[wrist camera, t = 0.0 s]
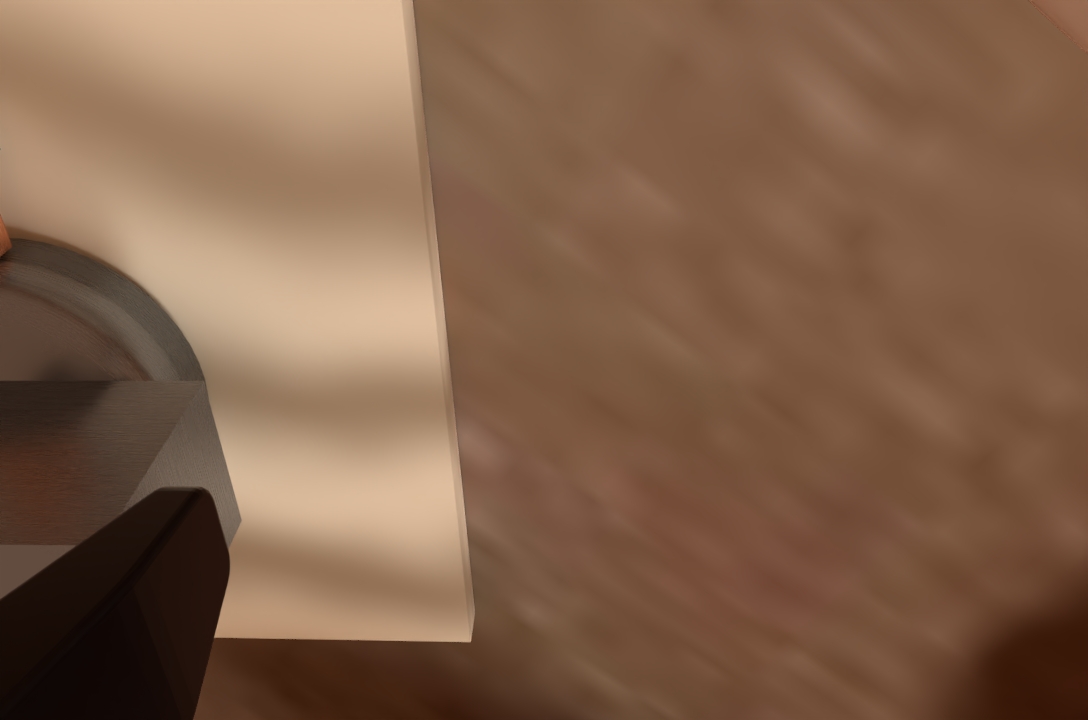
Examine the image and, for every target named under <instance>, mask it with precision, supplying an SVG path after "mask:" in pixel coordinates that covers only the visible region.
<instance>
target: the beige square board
mask: <svg viewBox="0 0 1088 720" xmlns="http://www.w3.org/2000/svg"><path fill="white" fill-rule="evenodd" d="M0 214H1V217H2V220H3V222H4V225H5V228H6V231H7V233H8V236H9V238H21V239H27V240H33V241H39V242H44V243H48V244H52V245H55V246H59V247H62V248H66V249H69V250H71V251H74V252H76V253H79V254H81V255H84V256H86V257H89V258H91V259H93V260H95V261H97V262H99V263H101V264H103V265H105V266H107V267H109V268H110V269H112V270H114V271H115V272H117V273H118V274H120V275H121V276H123V277H125V278H126V279H128V280H129V281H131V282H132V283H133V284H135V285H136V286H137V287H138V288H140V289H141V290H142V291H143V292H145V293H146V294H147V295H149V296H150V297H151V298H152V299H153V300H154V301H155V302H156V303H157V304H158V305H159V306H160V307H161V308H162V309H163V310H164V311H165V312H166V313H167V314H168V315H169V317H170V318H171V319H172V320H173V321H174V323H175V324H176V325H177V326H178V327H179V329H180V330H181V332H182V333H183V335H184V336H185V338H186V339H187V341H188V342H189V344H190V345H191V347H192V349H193V351H194V353H195V355H196V357H197V359H198V361H199V363H200V366H201V369H202V372H203V375H204V378H205V381H206V386H207V391H208V396H209V402H210V406H211V409H212V413H213V417H214V420H215V424H216V428H217V431H218V435H219V439H220V442H221V446H222V450H223V453H224V457H225V461H226V464H227V468H228V472H229V475H230V479H231V482H232V486H233V490H234V493H235V497H236V501H237V504H238V508H239V512H240V515H241V519H242V521H241V523H240V526H239V528H238V530H237V532H236V534H235V536H234V538H233V541H232V543H231V545H230V547H229V549H228V550H229V555H230V575H229V580H228V585H227V589H226V593H225V597H224V600H223V604H222V608H221V612H220V616H219V620H218V624H217V628H216V632H215V636H214V638H267V639H324V640H381V641H438V642H471V637H472V630H473V623H474V616H475V607H474V597H473V587H472V578H471V568H470V558H469V548H468V538H467V529H466V519H465V509H464V499H463V489H462V480H461V470H460V460H459V450H458V440H457V431H456V421H455V411H454V401H453V392H452V382H451V372H450V362H449V352H448V343H447V333H446V323H445V313H444V303H443V294H442V284H441V274H440V264H439V254H438V245H437V235H436V225H435V215H434V205H433V196H432V186H431V176H430V166H429V157H428V147H427V137H426V127H425V117H424V108H423V98H422V88H421V78H420V68H419V59H418V49H417V39H416V29H415V19H414V10H413V0H0Z"/></svg>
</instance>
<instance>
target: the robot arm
mask: <svg viewBox="0 0 1088 720" xmlns="http://www.w3.org/2000/svg"><path fill="white" fill-rule="evenodd" d="M229 575H230V555H229V550H228V547H227V543H226V540H225V536H224V533H223V529H222V526H221V522H220V519H219V515H218V512H217V508H216V505H215V501H214V499H213V497H212V495H211V493H210V492H209V491H208V490H207V489H206V488H203V487H200V486H165V487H161V488H158V489H156V490H155V491H153V492H151V493H150V494H149V495H147V496H146V497H144V498H143V499H142V500H140V501H139V502H137V503H136V504H134V505H133V506H132V507H130V508H129V509H127V510H126V511H124V512H123V513H122V514H120V515H119V516H117V517H116V518H115V519H113V520H112V521H110V522H109V523H107V524H106V525H105V526H103V527H102V528H100V529H99V530H97V531H96V532H95V533H93V534H92V535H90V536H89V537H88V538H86V539H85V540H83V541H82V542H80V543H79V544H78V545H76V546H75V547H73V548H72V549H71V550H69V551H68V552H66V553H65V554H63V555H62V556H61V557H59V558H58V559H56V560H55V561H53V562H52V563H51V564H49V565H48V566H46V567H45V568H44V569H42V570H41V571H39V572H38V573H36V574H35V575H34V576H32V577H31V578H29V579H28V580H26V581H25V582H24V583H22V584H21V585H19V586H18V587H17V588H15V589H14V590H12V591H11V592H9V593H8V594H7V595H5V596H4V597H2V598H1V599H0V720H193V718H194V714H195V711H196V707H197V703H198V699H199V695H200V691H201V687H202V683H203V679H204V675H205V672H206V668H207V664H208V660H209V656H210V652H211V648H212V644H213V640H214V636H215V632H216V628H217V624H218V620H219V616H220V612H221V608H222V604H223V600H224V597H225V593H226V589H227V585H228V580H229Z"/></svg>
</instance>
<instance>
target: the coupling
mask: <svg viewBox="0 0 1088 720" xmlns="http://www.w3.org/2000/svg"><path fill="white" fill-rule="evenodd" d="M165 486H200V487H203V488H206V489H207V490H208V491H209V492H210V493H211V495H212V497H213V499H214V501H215V505H216V508H217V512H218V515H219V519H220V522H221V526H222V529H223V533H224V536H225V540H226V543H227V547H228V549H229V547H230V545H231V543H232V541H233V538H234V536H235V534H236V532H237V530H238V528H239V526H240V523H241V521H242V519H241V515H240V512H239V508H238V504H237V501H236V497H235V493H234V490H233V486H232V482H231V479H230V475H229V472H228V468H227V464H226V461H225V457H224V453H223V450H222V446H221V442H220V439H219V435H218V431H217V428H216V424H215V420H214V417H213V413H212V409H211V406H210V402H209V396H208V391H207V386H206V381H205V378H204V375H203V372H202V369H201V366H200V363H199V361H198V359H197V357H196V355H195V353H194V351H193V349H192V347H191V345H190V344H189V342H188V341H187V339H186V338H185V336H184V335H183V333H182V332H181V330H180V329H179V327H178V326H177V325H176V324H175V323H174V321H173V320H172V319H171V318H170V317H169V315H168V314H167V313H166V312H165V311H164V310H163V309H162V308H161V307H160V306H159V305H158V304H157V303H156V302H155V301H154V300H153V299H152V298H151V297H150V296H149V295H147V294H146V293H145V292H143V291H142V290H141V289H140V288H138V287H137V286H136V285H135V284H133V283H132V282H131V281H129V280H128V279H126V278H125V277H123V276H121V275H120V274H118V273H117V272H115V271H114V270H112V269H110V268H109V267H107V266H105V265H103V264H101V263H99V262H97V261H95V260H93V259H91V258H89V257H86V256H84V255H81V254H79V253H76V252H74V251H71V250H69V249H66V248H62V247H59V246H55V245H52V244H48V243H44V242H39V241H33V240H27V239H21V238H9V236H8V233H7V231H6V228H5V225H4V222H3V220H2V217H1V214H0V599H1V598H2V597H4V596H5V595H7V594H8V593H9V592H11V591H12V590H14V589H15V588H17V587H18V586H19V585H21V584H22V583H24V582H25V581H26V580H28V579H29V578H31V577H32V576H34V575H35V574H36V573H38V572H39V571H41V570H42V569H44V568H45V567H46V566H48V565H49V564H51V563H52V562H53V561H55V560H56V559H58V558H59V557H61V556H62V555H63V554H65V553H66V552H68V551H69V550H71V549H72V548H73V547H75V546H76V545H78V544H79V543H80V542H82V541H83V540H85V539H86V538H88V537H89V536H90V535H92V534H93V533H95V532H96V531H97V530H99V529H100V528H102V527H103V526H105V525H106V524H107V523H109V522H110V521H112V520H113V519H115V518H116V517H117V516H119V515H120V514H122V513H123V512H124V511H126V510H127V509H129V508H130V507H132V506H133V505H134V504H136V503H137V502H139V501H140V500H142V499H143V498H144V497H146V496H147V495H149V494H150V493H151V492H153V491H155V490H156V489H158V488H161V487H165Z"/></svg>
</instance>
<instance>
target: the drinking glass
mask: <svg viewBox="0 0 1088 720" xmlns="http://www.w3.org/2000/svg"><path fill="white" fill-rule="evenodd" d="M1028 1H1029V2H1030V3H1031V4H1032V5H1033V6H1034V7H1035V8H1036V9H1037V10H1038V11H1039V12H1040V13H1042V14H1043V15H1044V16H1045V17H1046V18H1047V19H1048V20H1049V21H1050V22H1051V23H1053V24H1054V25H1055V26H1056V27H1057V28H1058V29H1059V30H1060V31H1061V32H1062V33H1064V34H1065V35H1066V36H1067V37H1068V38H1069V39H1070V40H1072V41H1073V42H1074V43H1075V44H1076V45H1077V46H1079V47H1080V48H1081V49H1082V50H1083V51H1084V52H1086V53H1087V54H1088V0H1028Z"/></svg>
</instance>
